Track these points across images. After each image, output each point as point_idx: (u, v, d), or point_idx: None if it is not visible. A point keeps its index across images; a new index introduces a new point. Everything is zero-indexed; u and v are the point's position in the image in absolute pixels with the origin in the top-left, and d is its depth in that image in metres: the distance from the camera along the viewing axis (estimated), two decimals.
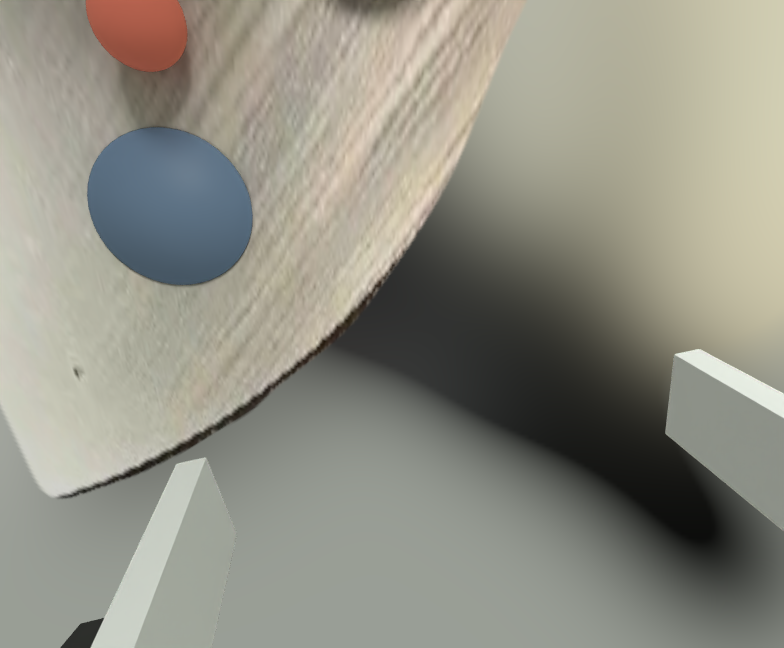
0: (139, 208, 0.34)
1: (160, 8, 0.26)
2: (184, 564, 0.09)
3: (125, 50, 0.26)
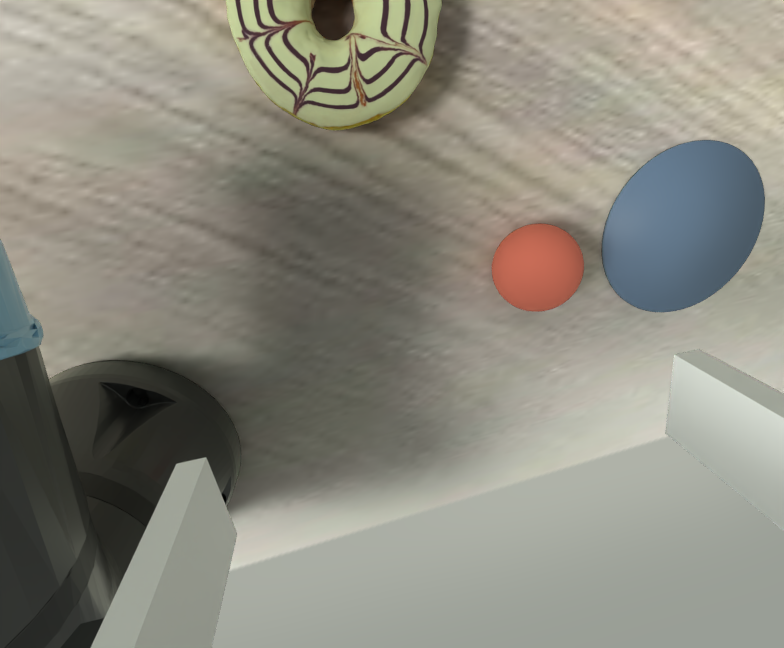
0: (678, 265, 0.32)
1: (543, 245, 0.25)
2: (184, 564, 0.09)
3: (581, 276, 0.26)
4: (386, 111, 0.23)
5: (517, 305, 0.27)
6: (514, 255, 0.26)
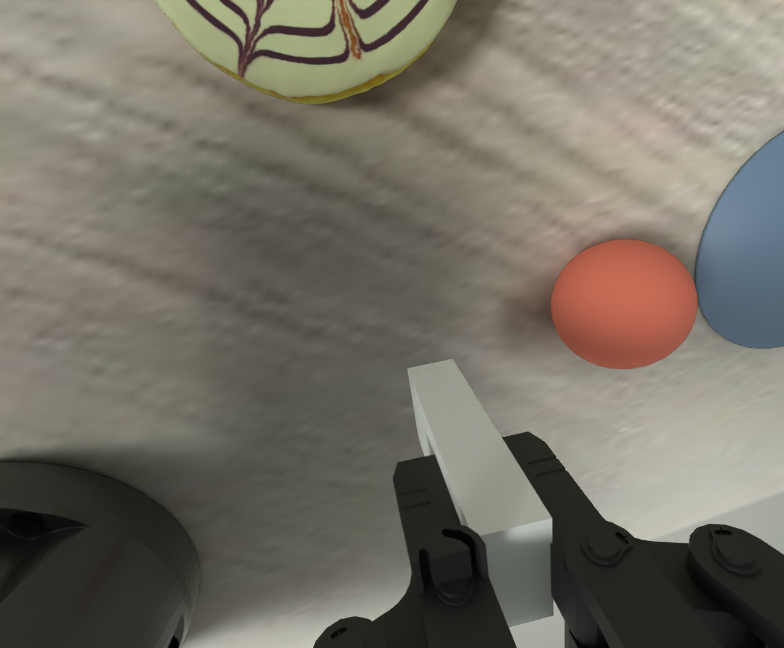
0: None
1: (643, 275, 0.16)
2: None
3: None
4: (394, 68, 0.14)
5: (595, 362, 0.18)
6: (595, 291, 0.17)
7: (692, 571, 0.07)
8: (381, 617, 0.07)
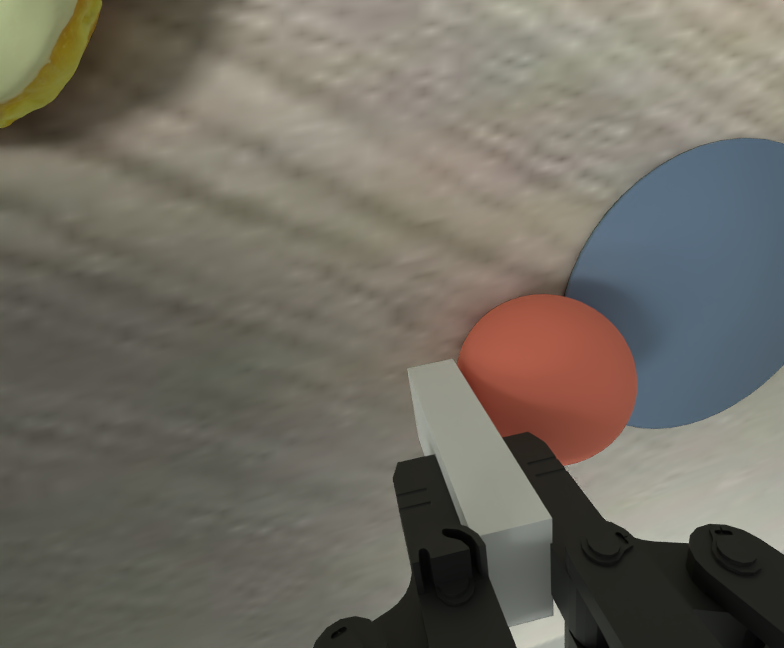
0: (694, 355, 0.18)
1: (610, 325, 0.13)
2: None
3: None
4: None
5: (588, 457, 0.13)
6: (604, 367, 0.12)
7: (693, 571, 0.07)
8: (381, 617, 0.07)
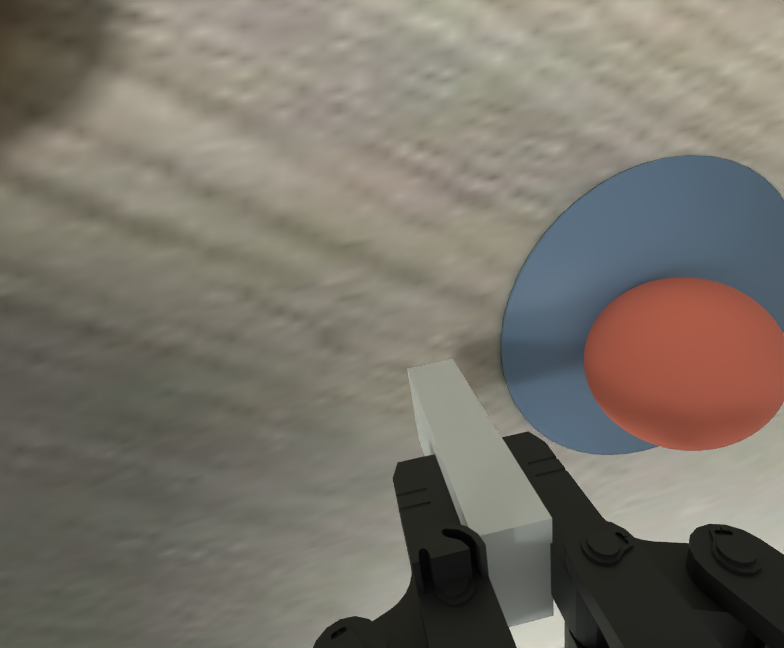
0: None
1: None
2: None
3: (595, 387, 0.14)
4: None
5: None
6: None
7: (693, 571, 0.07)
8: (381, 617, 0.07)
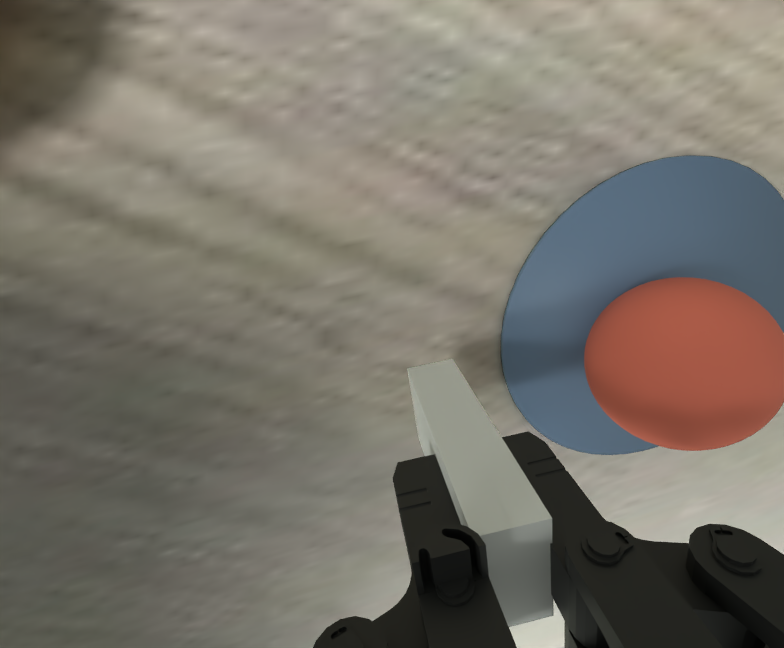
0: None
1: (620, 295, 0.15)
2: None
3: (595, 387, 0.14)
4: None
5: None
6: None
7: (693, 571, 0.07)
8: (381, 617, 0.07)
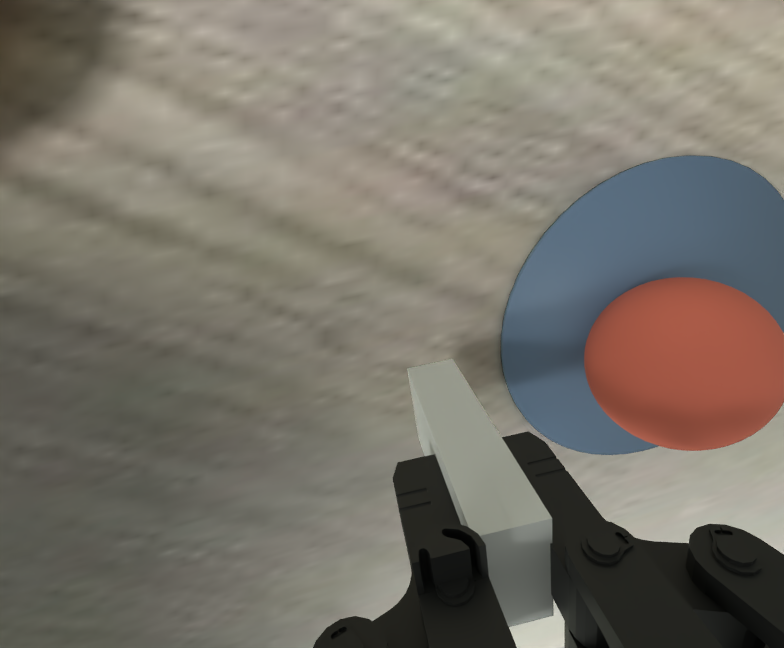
0: None
1: (620, 295, 0.15)
2: None
3: (595, 387, 0.14)
4: None
5: None
6: None
7: (693, 571, 0.07)
8: (381, 617, 0.07)
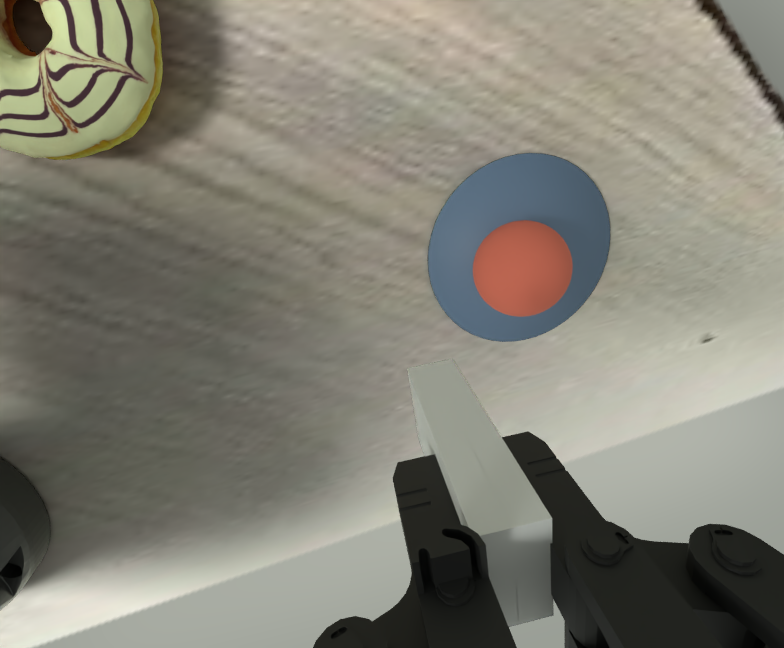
0: None
1: None
2: None
3: (475, 283, 0.25)
4: (111, 137, 0.20)
5: None
6: None
7: (693, 571, 0.07)
8: (381, 617, 0.07)
